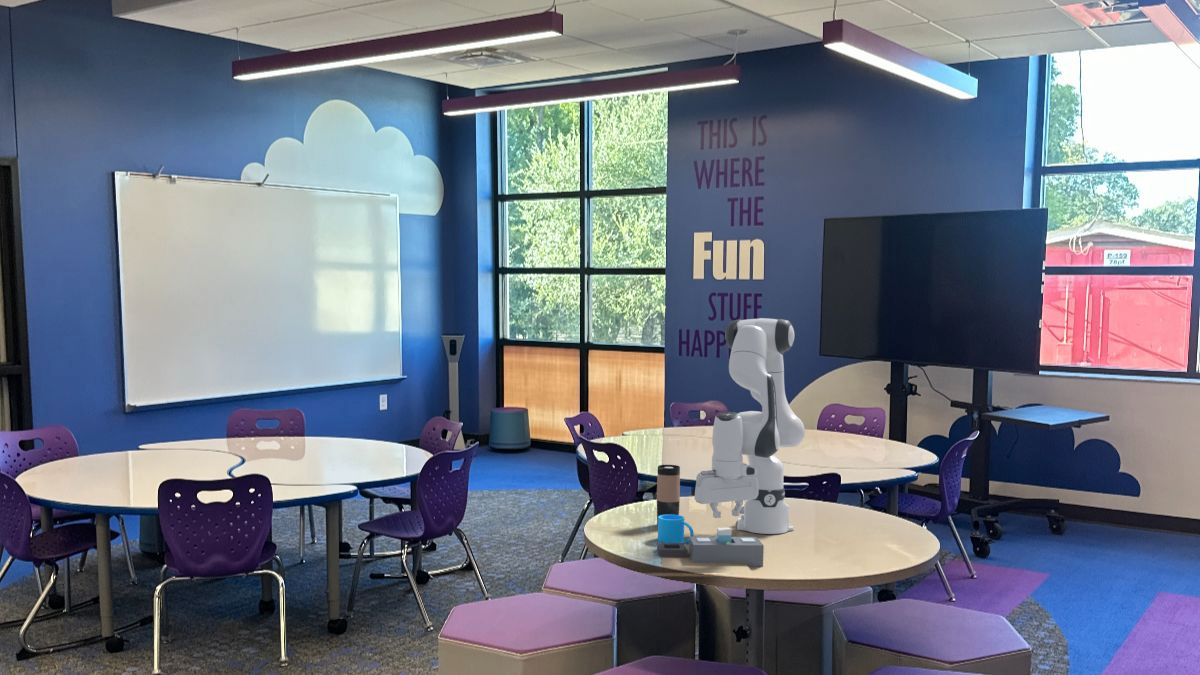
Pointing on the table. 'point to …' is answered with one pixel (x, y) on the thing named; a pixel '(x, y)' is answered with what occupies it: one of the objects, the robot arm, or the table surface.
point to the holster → (672, 549)
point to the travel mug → (668, 490)
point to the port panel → (726, 550)
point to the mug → (672, 529)
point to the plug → (724, 535)
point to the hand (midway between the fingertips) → (726, 516)
